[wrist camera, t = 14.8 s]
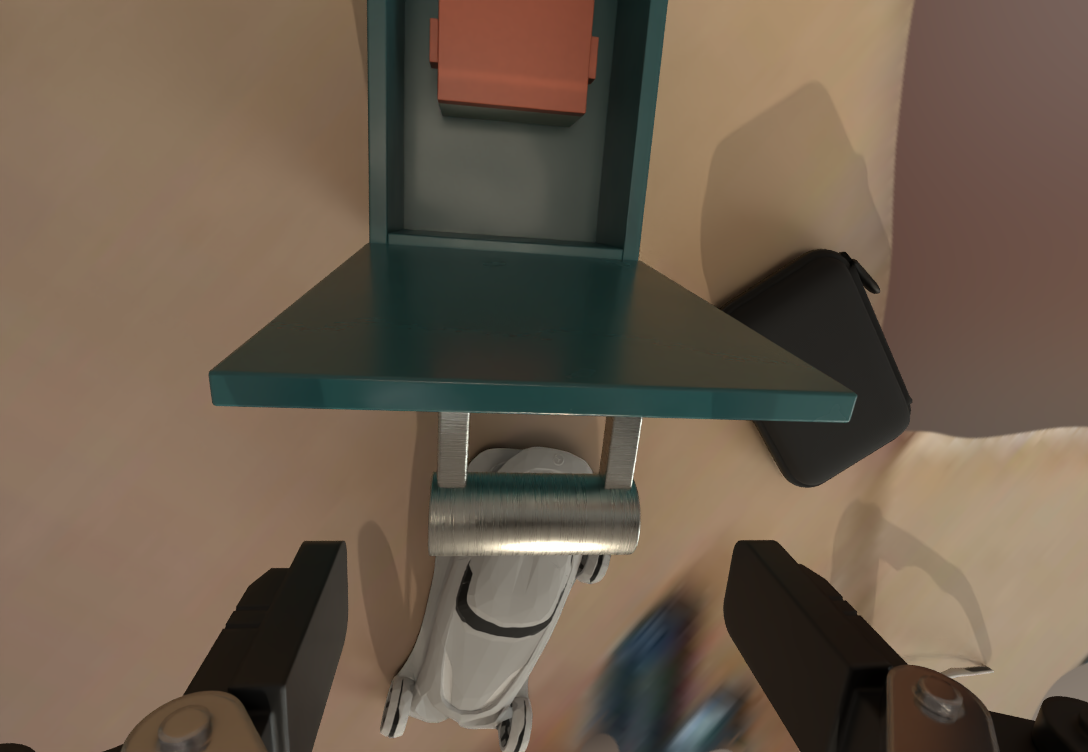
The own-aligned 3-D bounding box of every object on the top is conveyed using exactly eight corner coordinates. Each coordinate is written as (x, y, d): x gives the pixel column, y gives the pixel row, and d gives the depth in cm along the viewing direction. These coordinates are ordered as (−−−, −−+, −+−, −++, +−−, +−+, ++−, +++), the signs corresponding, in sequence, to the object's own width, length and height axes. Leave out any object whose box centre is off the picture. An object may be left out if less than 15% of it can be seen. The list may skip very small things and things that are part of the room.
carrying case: (913, 406, 40) (834, 224, 36) (948, 421, 37) (867, 225, 33) (783, 486, 40) (690, 317, 36) (807, 508, 38) (709, 326, 33)
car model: (374, 710, 41) (362, 774, 37) (471, 408, 36) (471, 438, 31) (518, 732, 44) (524, 796, 39) (630, 452, 38) (653, 486, 33)
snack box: (434, 114, 30) (428, 98, 26) (435, 9, 29) (429, -27, 25) (577, 128, 31) (593, 114, 27) (584, 26, 30) (603, -5, 26)
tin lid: (205, 370, 10) (238, 609, 12) (860, 393, 12) (798, 597, 14) (367, 242, 25) (370, 355, 27) (641, 260, 27) (626, 365, 29)
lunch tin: (390, -76, 28) (364, -170, 21) (633, -42, 30) (682, -118, 23) (390, 242, 33) (369, 249, 26) (603, 256, 34) (637, 267, 27)
